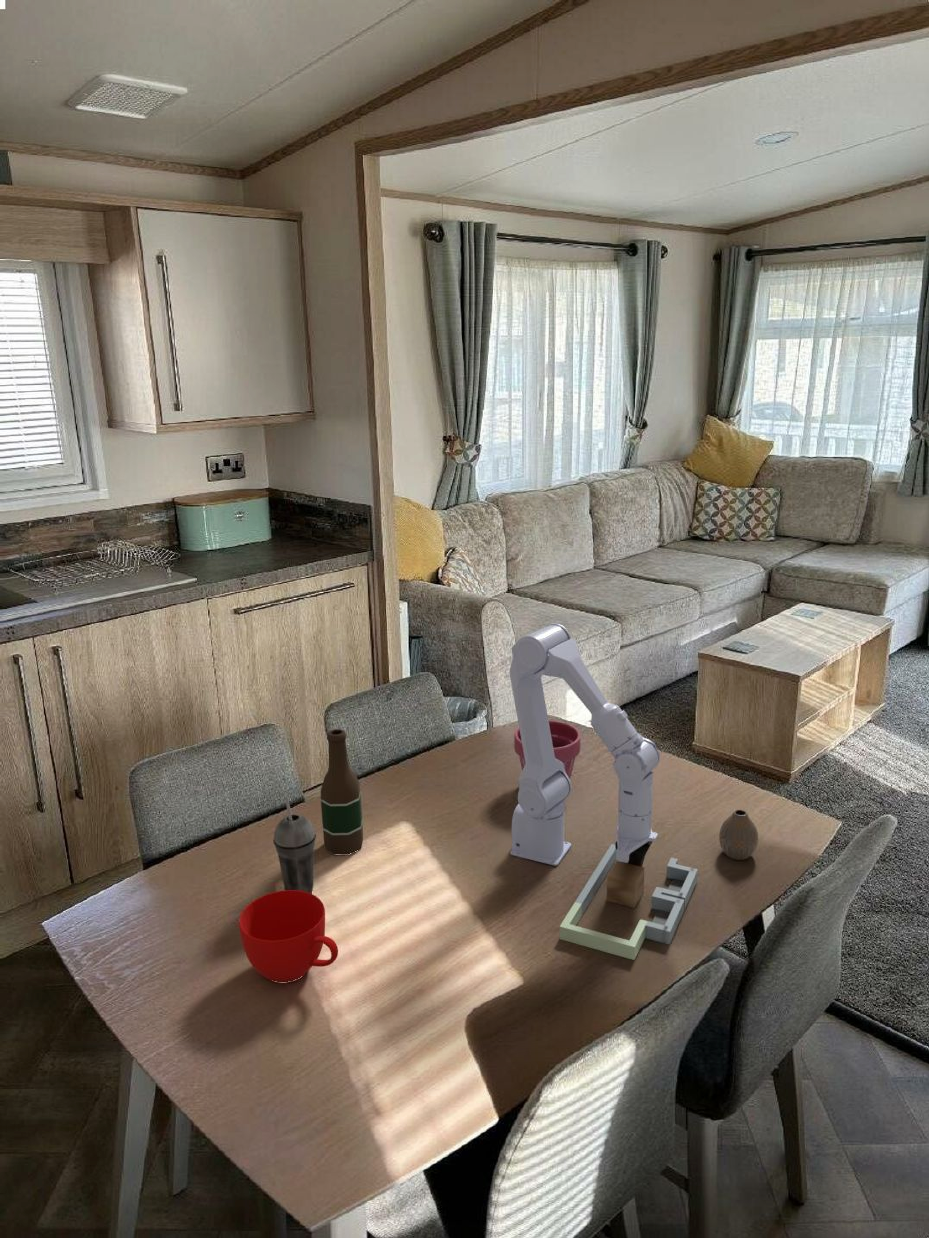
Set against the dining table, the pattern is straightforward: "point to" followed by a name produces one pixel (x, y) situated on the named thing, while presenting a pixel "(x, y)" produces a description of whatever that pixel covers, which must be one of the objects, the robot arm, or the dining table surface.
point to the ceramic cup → (285, 934)
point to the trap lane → (659, 929)
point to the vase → (738, 836)
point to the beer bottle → (341, 800)
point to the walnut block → (625, 884)
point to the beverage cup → (295, 851)
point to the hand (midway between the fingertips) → (632, 877)
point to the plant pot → (557, 744)
